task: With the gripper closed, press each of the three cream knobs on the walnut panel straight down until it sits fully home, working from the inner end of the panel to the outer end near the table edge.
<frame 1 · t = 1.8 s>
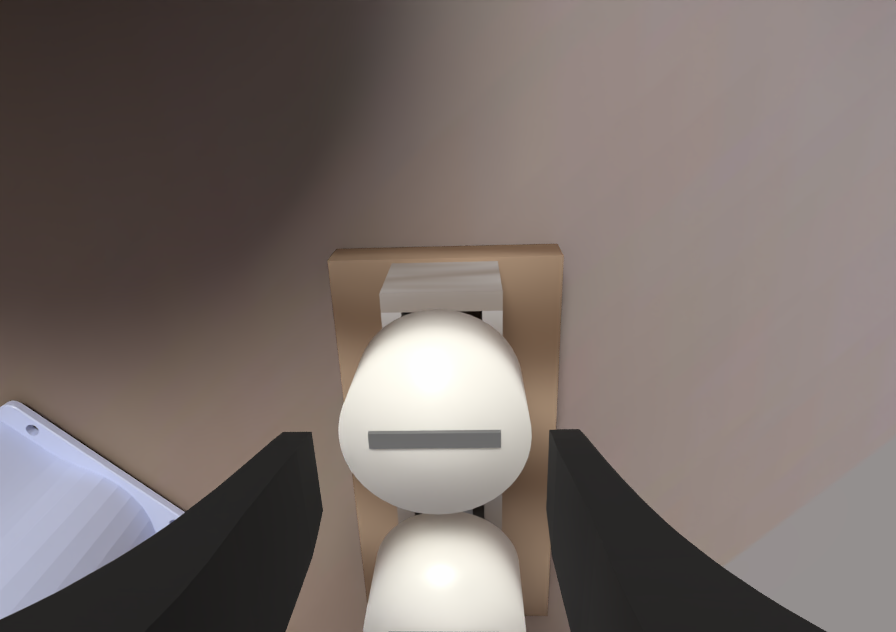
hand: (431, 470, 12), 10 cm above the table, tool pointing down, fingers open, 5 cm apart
knob inner: (439, 381, 16), point 7 cm above the table, slide at 0.0 cm
knob panel: (452, 439, 24), on the table
knob middle: (447, 561, 18), point 7 cm above the table, slide at 0.0 cm
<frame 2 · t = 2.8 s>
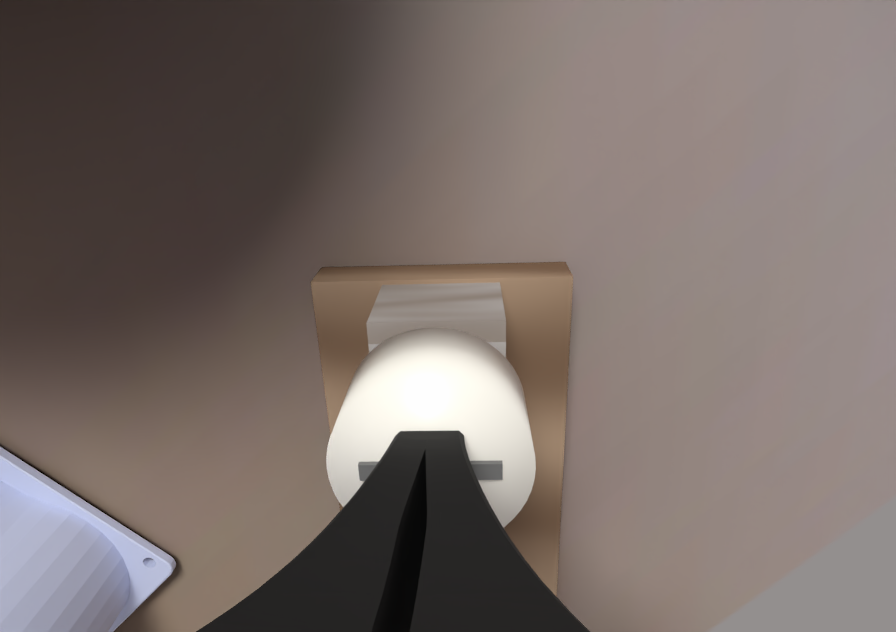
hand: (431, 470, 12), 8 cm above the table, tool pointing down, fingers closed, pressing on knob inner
knob inner: (436, 403, 15), point 6 cm above the table, slide at 1.0 cm, touching gripper
knob panel: (450, 472, 22), on the table
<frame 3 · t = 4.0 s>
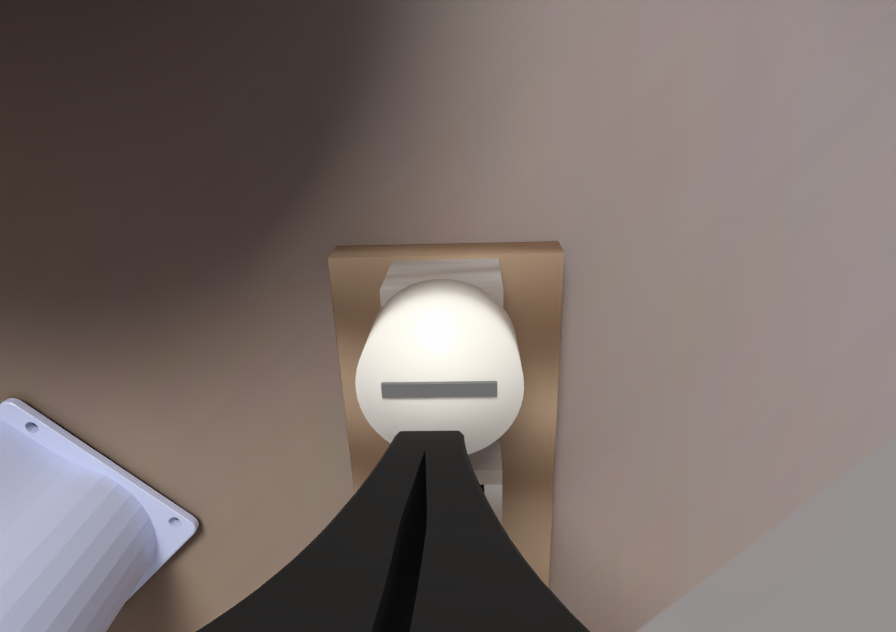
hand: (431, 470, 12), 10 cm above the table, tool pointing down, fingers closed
knob inner: (443, 345, 18), point 4 cm above the table, slide at 2.1 cm
knob panel: (452, 437, 24), on the table
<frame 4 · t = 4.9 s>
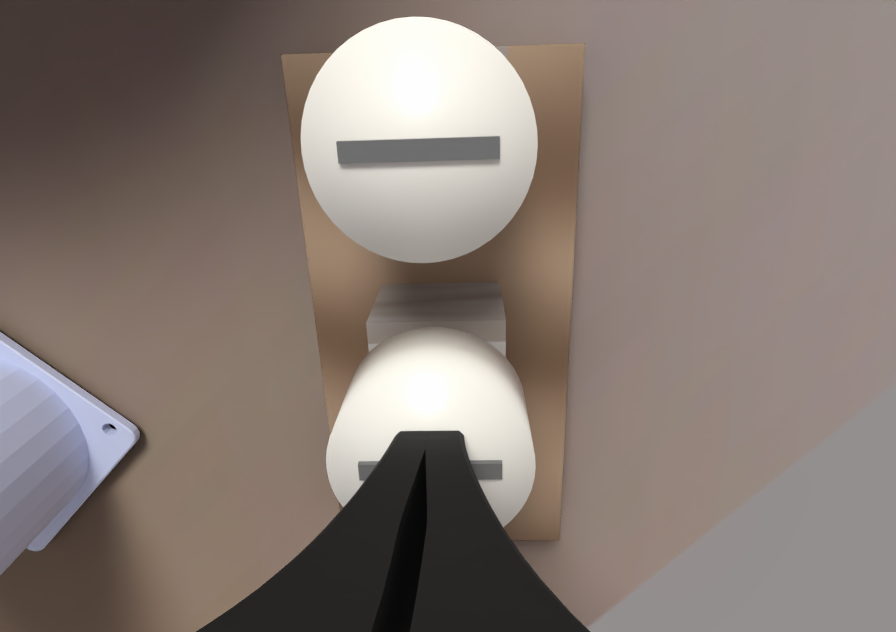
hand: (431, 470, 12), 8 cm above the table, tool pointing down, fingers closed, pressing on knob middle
knob inner: (427, 136, 13), point 4 cm above the table, slide at 2.1 cm
knob panel: (444, 318, 20), on the table
knob middle: (436, 403, 15), point 6 cm above the table, slide at 1.0 cm, touching gripper
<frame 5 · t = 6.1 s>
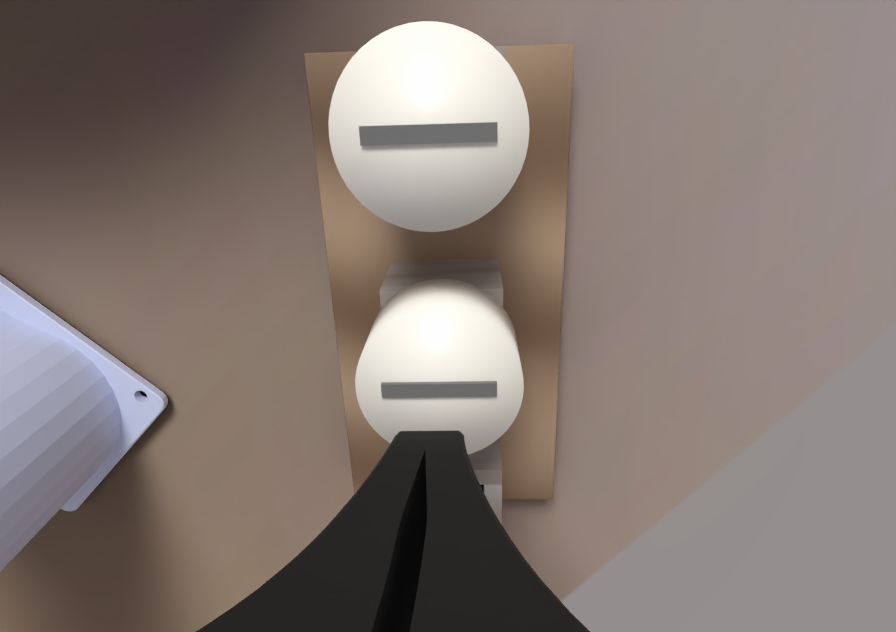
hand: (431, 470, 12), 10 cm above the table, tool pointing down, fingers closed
knob inner: (434, 124, 15), point 4 cm above the table, slide at 2.1 cm
knob panel: (448, 294, 22), on the table
knob middle: (443, 345, 18), point 4 cm above the table, slide at 2.1 cm
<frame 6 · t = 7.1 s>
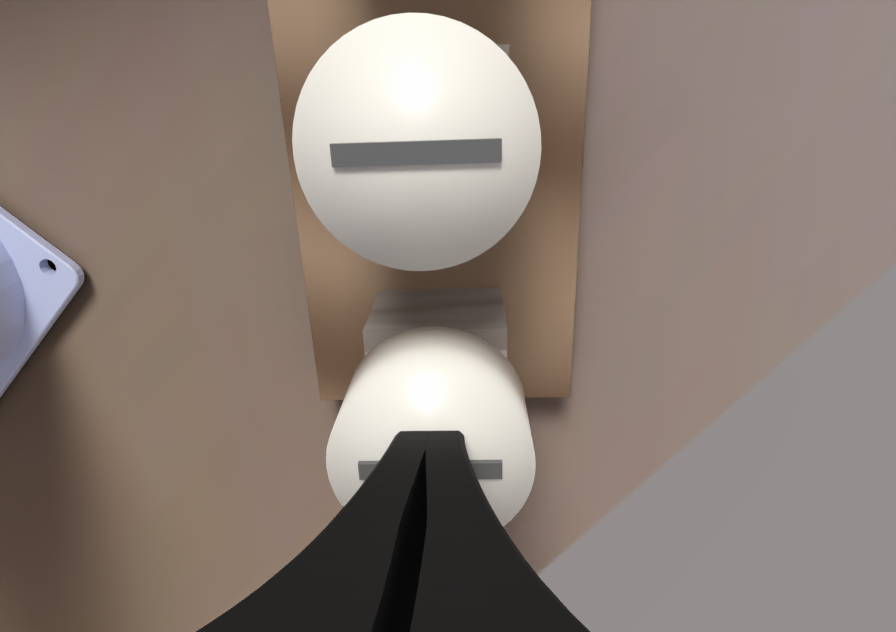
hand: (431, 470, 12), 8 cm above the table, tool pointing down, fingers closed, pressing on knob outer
knob panel: (436, 123, 17), on the table
knob middle: (426, 138, 13), point 4 cm above the table, slide at 2.1 cm
knob outer: (436, 402, 15), point 5 cm above the table, slide at 1.6 cm, touching gripper
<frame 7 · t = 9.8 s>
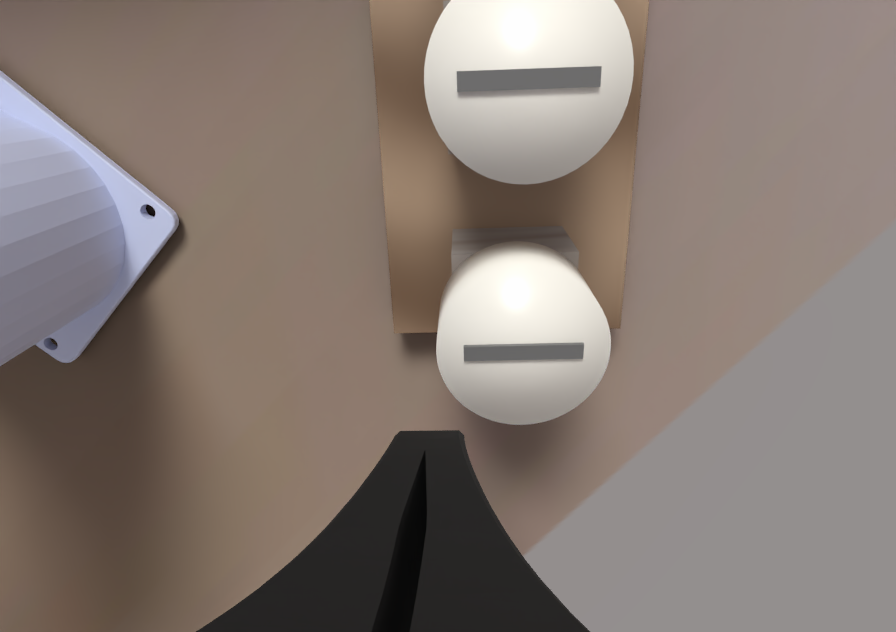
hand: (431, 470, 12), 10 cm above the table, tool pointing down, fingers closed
knob panel: (504, 78, 19), on the table
knob middle: (516, 78, 15), point 4 cm above the table, slide at 2.1 cm
knob outer: (514, 311, 17), point 4 cm above the table, slide at 2.1 cm
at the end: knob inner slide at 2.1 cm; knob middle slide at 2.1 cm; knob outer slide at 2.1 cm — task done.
